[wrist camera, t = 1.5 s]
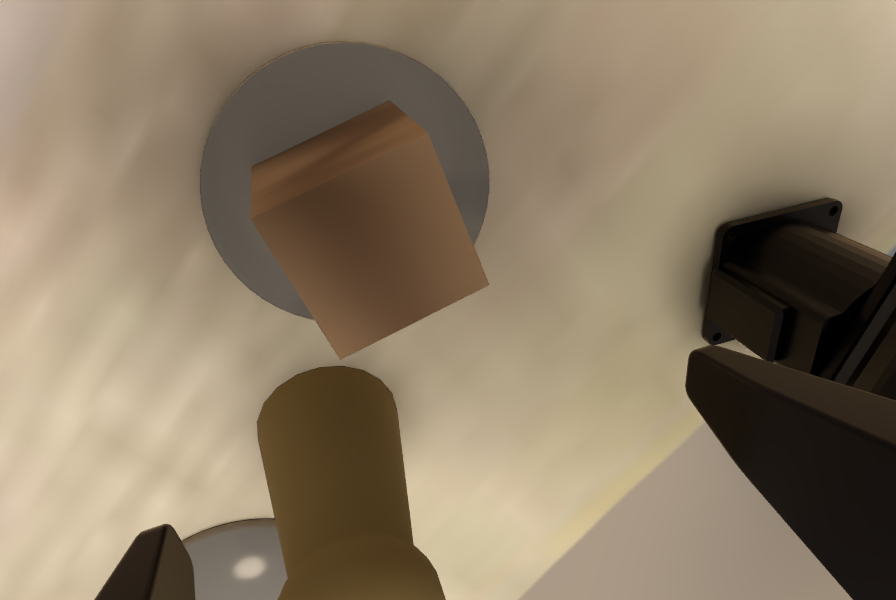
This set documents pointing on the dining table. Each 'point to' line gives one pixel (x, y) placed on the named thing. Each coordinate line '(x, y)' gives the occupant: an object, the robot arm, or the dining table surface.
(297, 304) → the coaster
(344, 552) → the brown rounded piece
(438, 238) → the walnut cube
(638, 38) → the dining table surface
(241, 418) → the dining table surface
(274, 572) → the coaster empty
